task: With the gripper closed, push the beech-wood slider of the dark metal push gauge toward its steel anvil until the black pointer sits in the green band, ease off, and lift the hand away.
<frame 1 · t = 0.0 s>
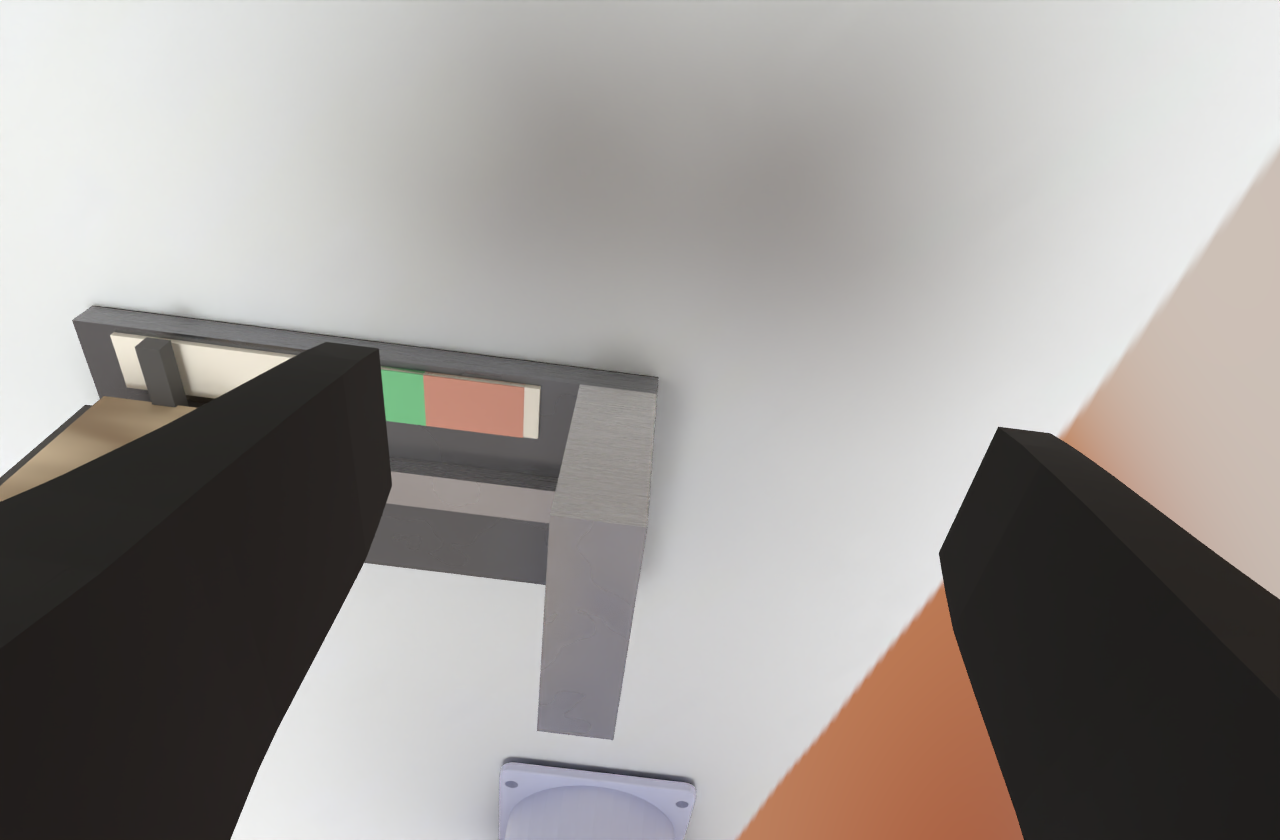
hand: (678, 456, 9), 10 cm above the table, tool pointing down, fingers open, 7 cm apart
gauge bed: (388, 454, 23), on the table
gauge slider: (130, 487, 19), point 4 cm above the table, slide at 0.0 cm
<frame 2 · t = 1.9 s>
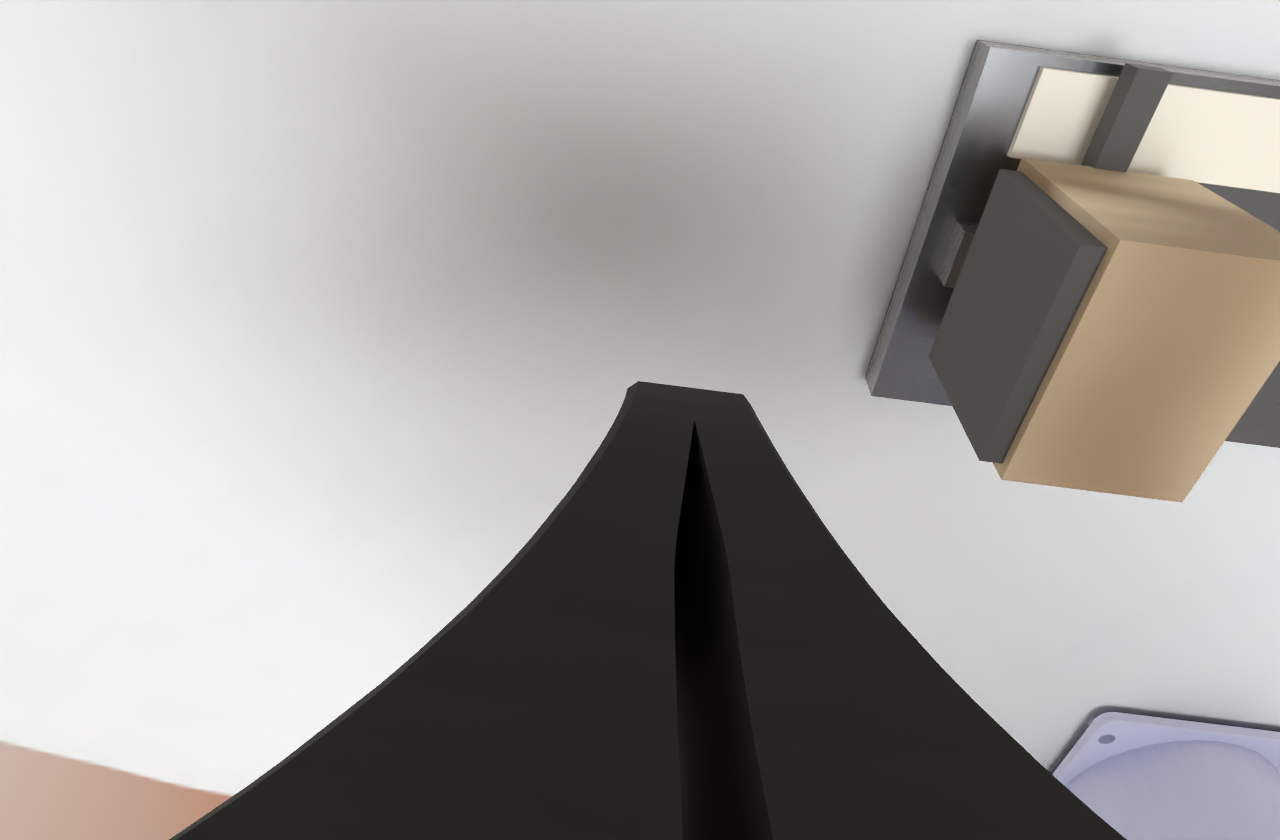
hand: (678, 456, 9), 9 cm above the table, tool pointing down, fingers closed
gauge bed: (1251, 275, 17), on the table
gauge slider: (1105, 275, 13), point 4 cm above the table, slide at 0.0 cm
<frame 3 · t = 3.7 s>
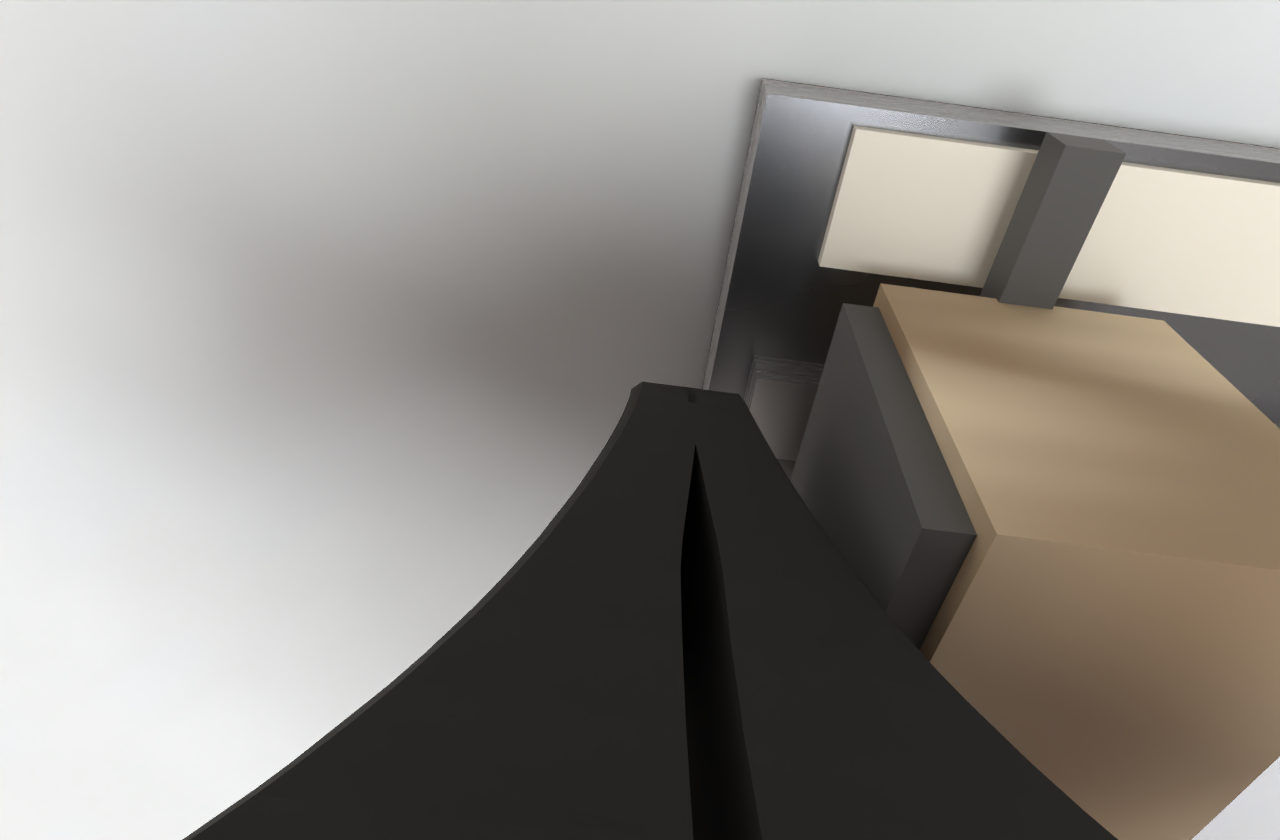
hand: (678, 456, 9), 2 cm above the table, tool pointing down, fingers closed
gauge bed: (1214, 423, 11), on the table
gauge slider: (1012, 497, 8), point 3 cm above the table, slide at 0.6 cm, touching gripper
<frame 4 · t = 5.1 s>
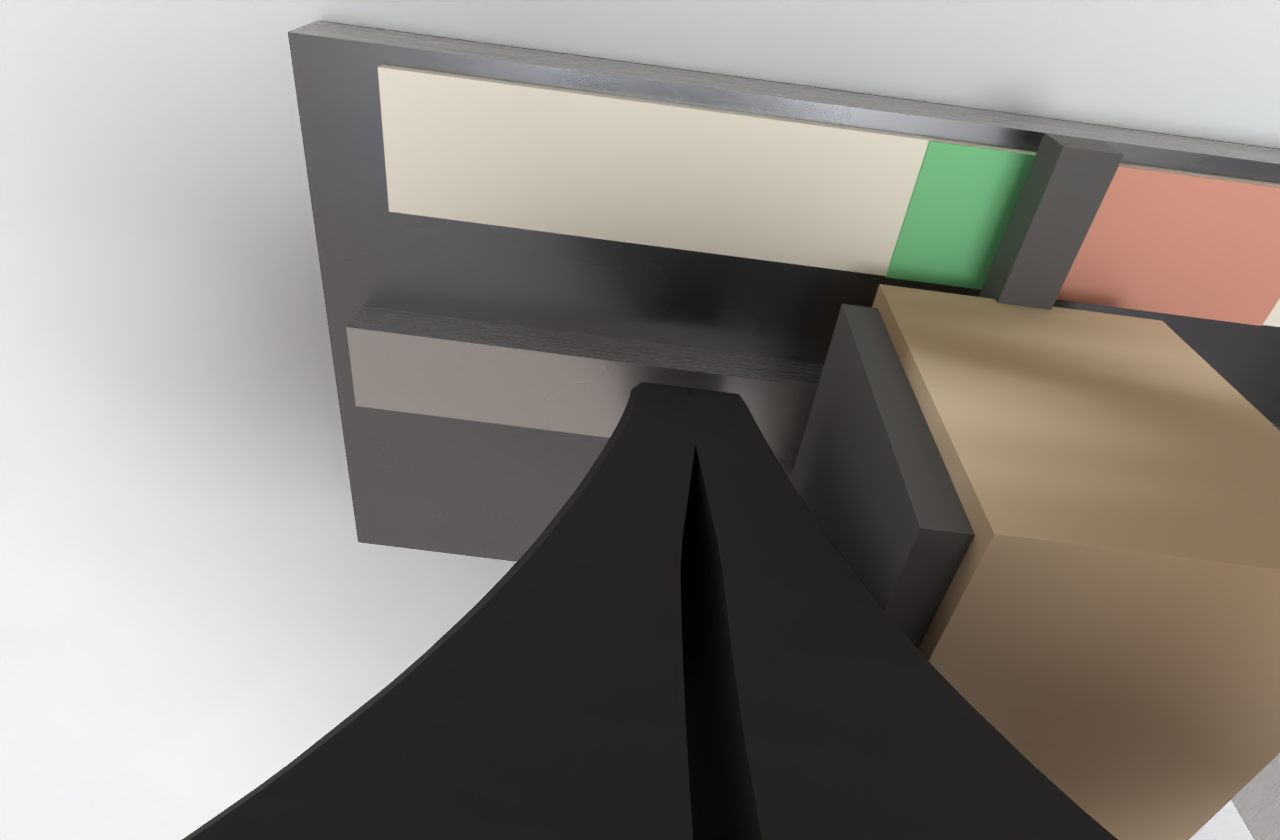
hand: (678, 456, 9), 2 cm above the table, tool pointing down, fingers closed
gauge bed: (865, 378, 11), on the table
gauge slider: (1010, 497, 8), point 3 cm above the table, slide at 5.8 cm, touching gripper
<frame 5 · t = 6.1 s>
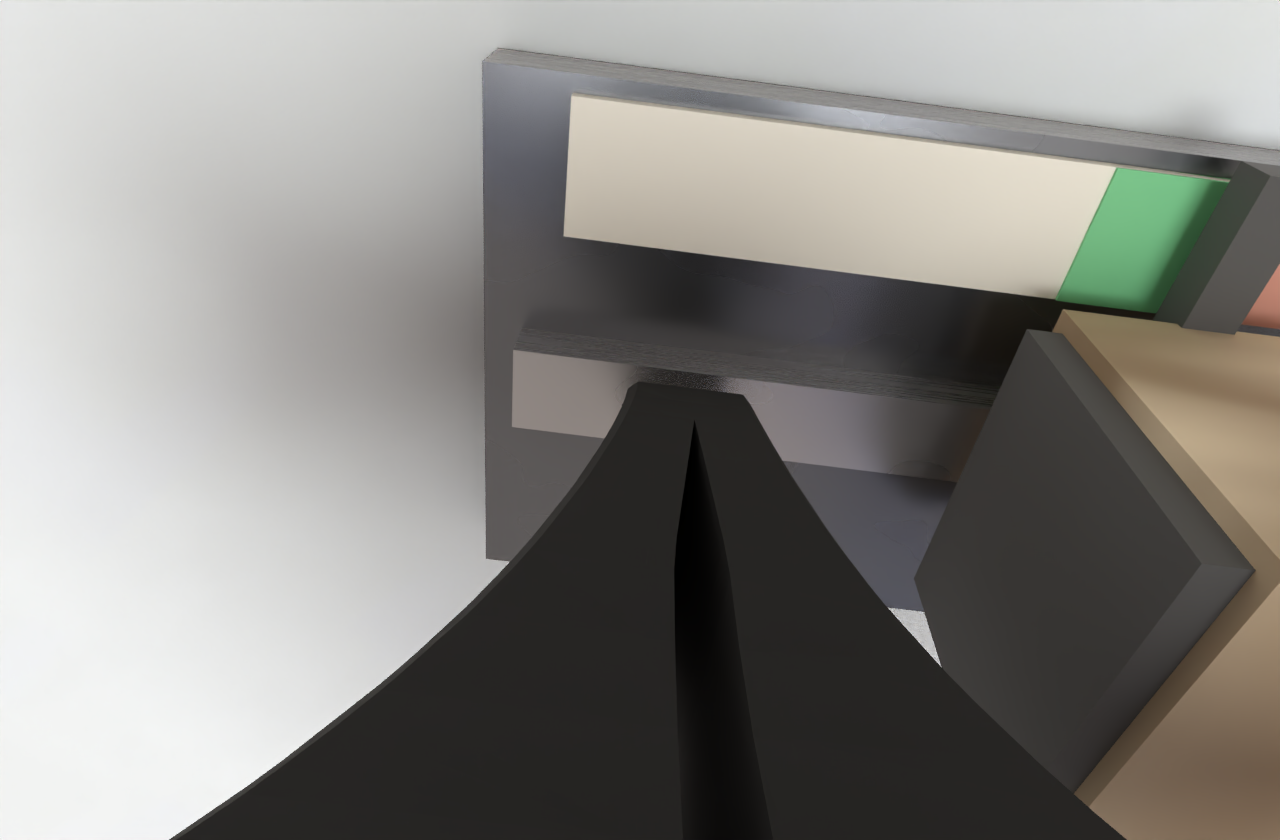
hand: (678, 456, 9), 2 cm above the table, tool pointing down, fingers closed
gauge bed: (1006, 397, 11), on the table
gauge slider: (1209, 522, 8), point 3 cm above the table, slide at 5.8 cm
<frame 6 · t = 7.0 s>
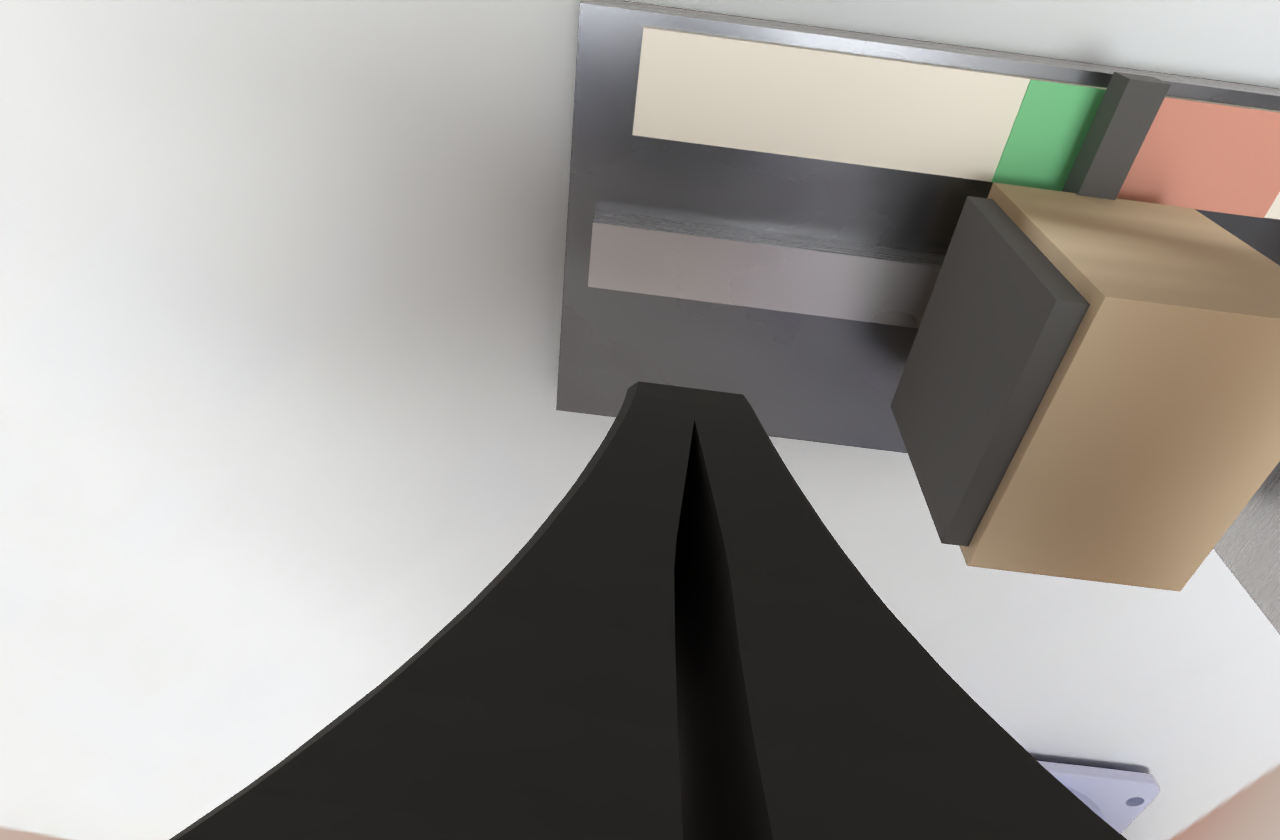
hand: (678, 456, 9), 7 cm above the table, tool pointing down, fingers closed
gauge bed: (961, 272, 15), on the table
gauge slider: (1090, 324, 11), point 4 cm above the table, slide at 5.8 cm
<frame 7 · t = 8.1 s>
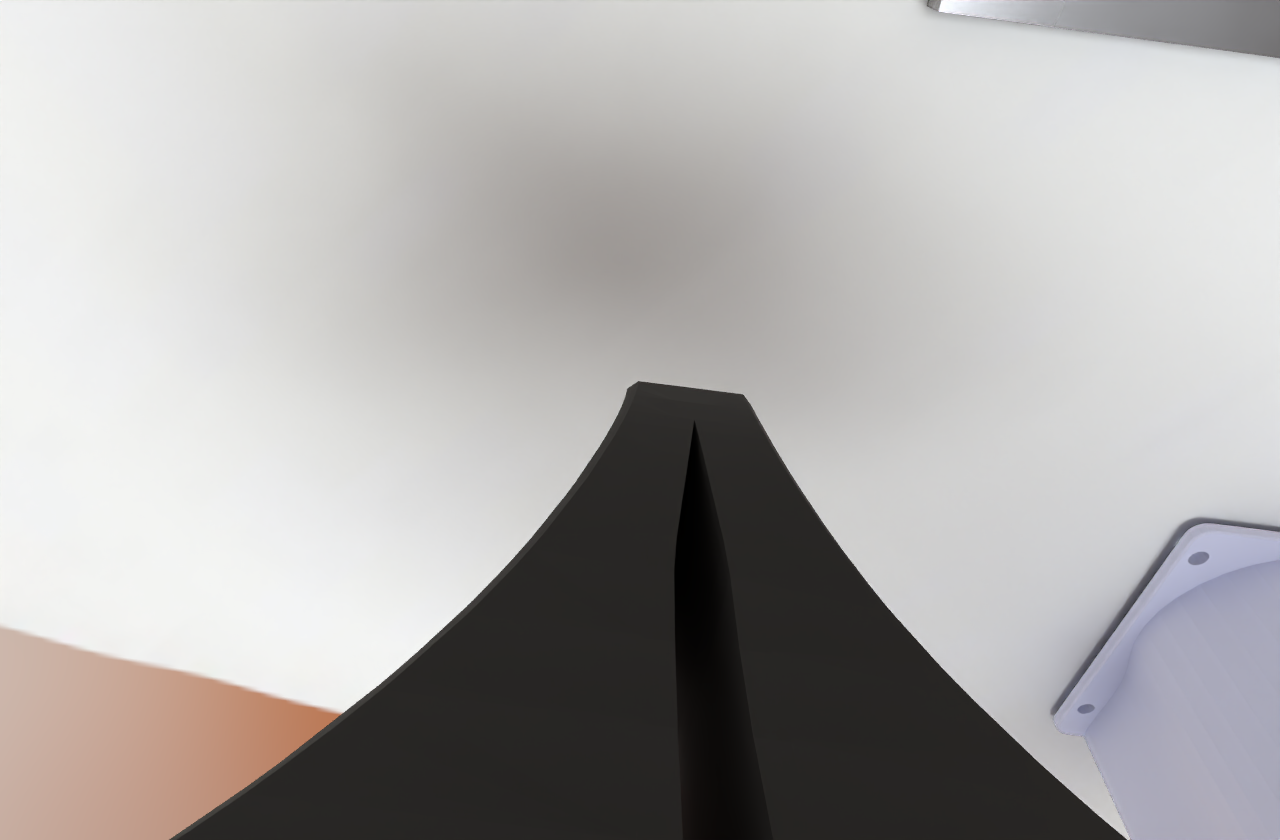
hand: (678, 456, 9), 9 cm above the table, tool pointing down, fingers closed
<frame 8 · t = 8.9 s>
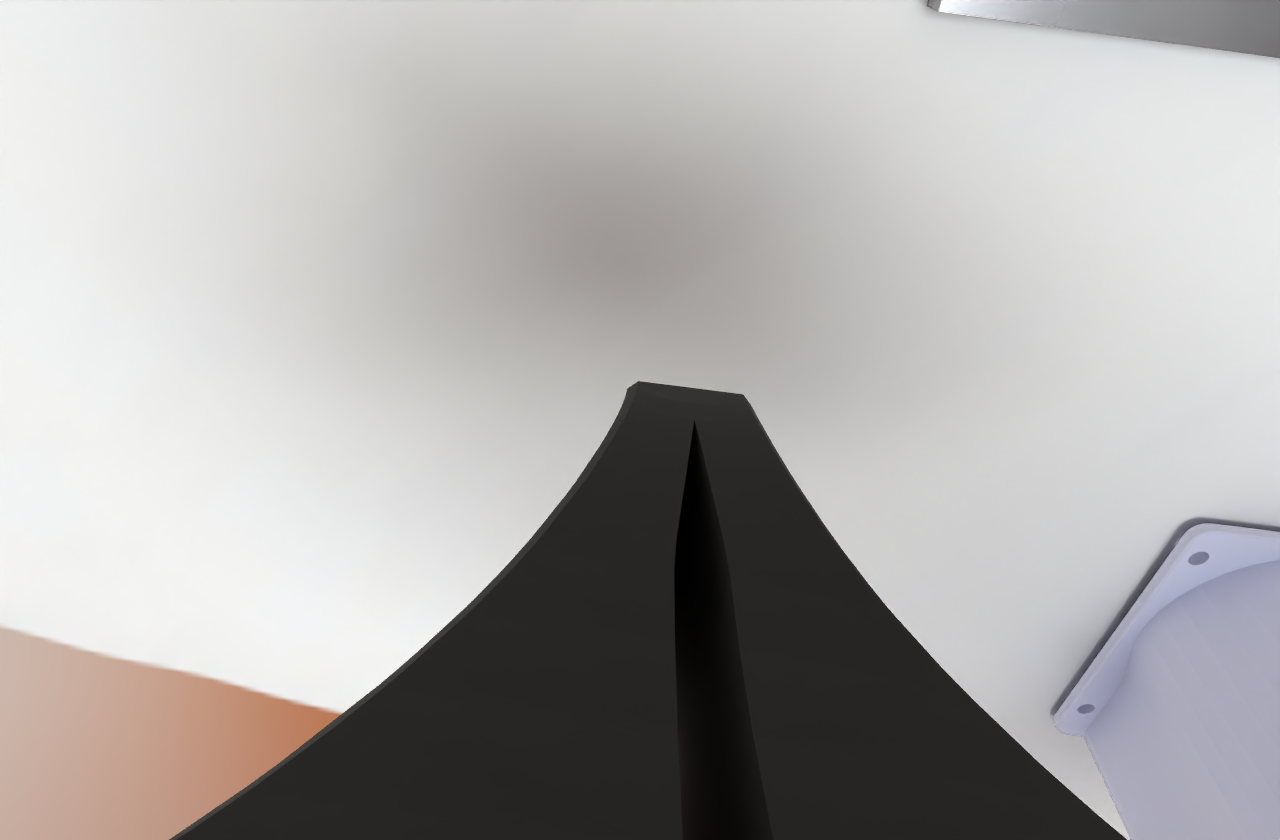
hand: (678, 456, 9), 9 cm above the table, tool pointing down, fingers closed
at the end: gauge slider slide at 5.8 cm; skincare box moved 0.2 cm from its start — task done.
